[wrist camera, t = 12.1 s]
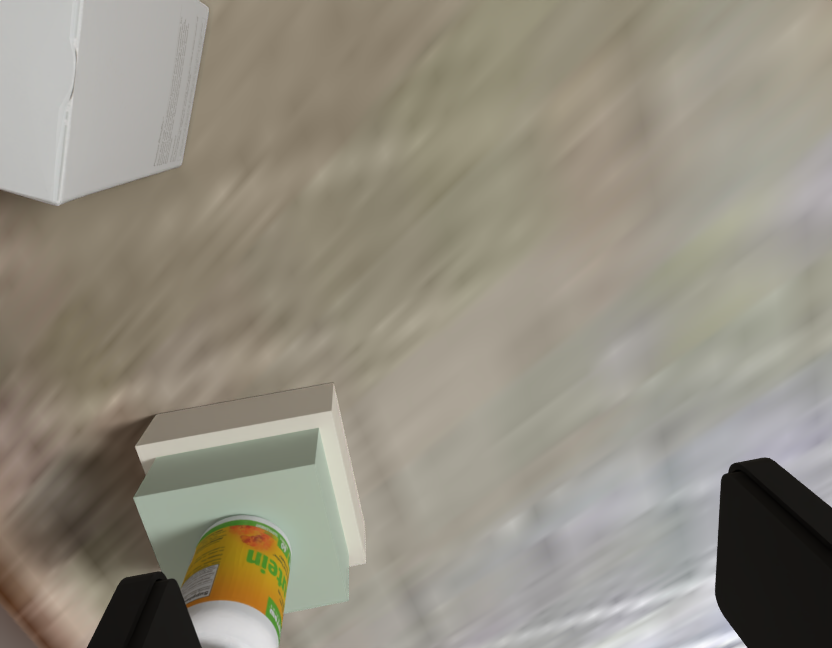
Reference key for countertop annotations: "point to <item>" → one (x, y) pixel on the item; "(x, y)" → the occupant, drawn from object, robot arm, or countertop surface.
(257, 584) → the supplement bottle
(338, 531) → the block
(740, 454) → the countertop surface
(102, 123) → the supplement box
